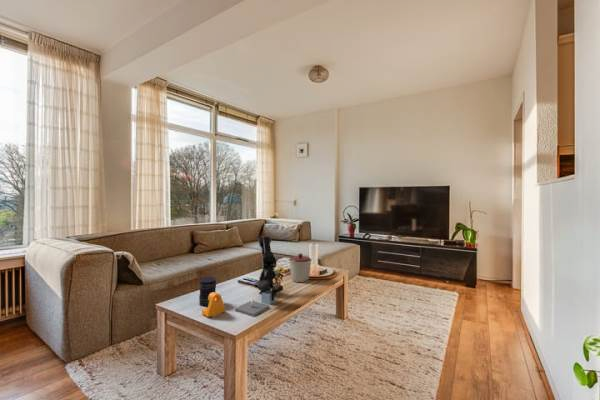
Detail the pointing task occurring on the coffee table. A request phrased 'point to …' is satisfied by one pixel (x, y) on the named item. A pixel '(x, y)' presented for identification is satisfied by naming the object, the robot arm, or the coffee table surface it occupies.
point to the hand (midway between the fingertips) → (268, 299)
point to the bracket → (214, 305)
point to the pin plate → (252, 308)
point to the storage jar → (206, 290)
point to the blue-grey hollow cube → (267, 297)
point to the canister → (300, 268)
